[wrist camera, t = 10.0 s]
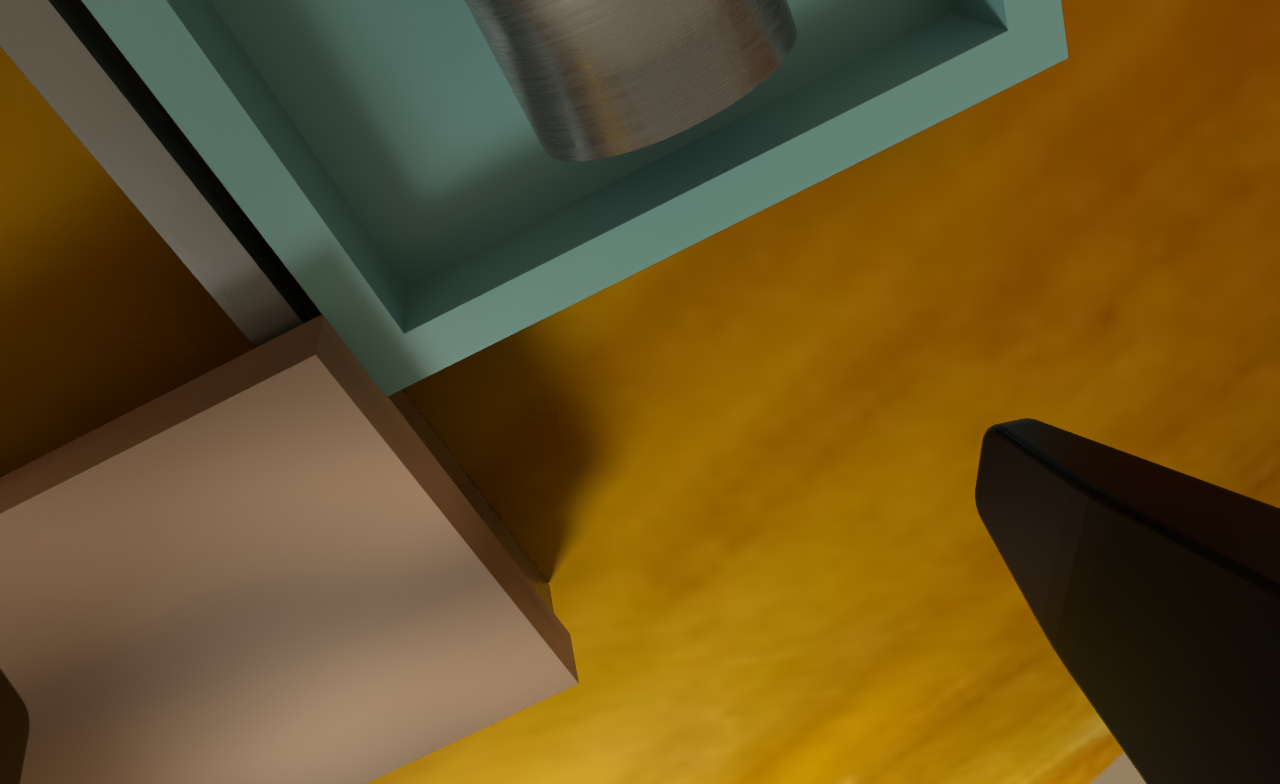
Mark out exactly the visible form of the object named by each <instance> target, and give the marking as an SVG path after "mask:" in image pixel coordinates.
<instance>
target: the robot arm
mask: <svg viewBox="0 0 1280 784" xmlns="http://www.w3.org/2000/svg"><path fill="white" fill-rule="evenodd" d="M975 501H976V506H977V510H978V512H979V515H980V517H981V519H982V521H983V523H984V525H985V527H986V529H987V530H988V532H989V534H990V536H991V538H992V540H993V541H994V543H995V545H996V547H997V549H998V550H999V552H1000V554H1001V556H1002V558H1003V560H1004V561H1005V563H1006V565H1007V567H1008V569H1009V571H1010V572H1011V574H1012V576H1013V578H1014V580H1015V581H1016V583H1017V585H1018V587H1019V589H1020V591H1021V592H1022V594H1023V596H1024V598H1025V600H1026V602H1027V603H1028V605H1029V607H1030V609H1031V611H1032V612H1033V614H1034V616H1035V618H1036V620H1037V622H1038V623H1039V625H1040V627H1041V629H1042V630H1043V632H1044V634H1045V635H1046V637H1047V639H1048V641H1049V642H1050V644H1051V646H1052V647H1053V649H1054V650H1055V652H1056V653H1057V655H1058V656H1059V658H1060V659H1061V661H1062V662H1063V664H1064V666H1065V667H1066V669H1067V670H1068V671H1069V673H1070V674H1071V676H1072V677H1073V679H1074V680H1075V682H1076V683H1077V684H1078V686H1079V687H1080V689H1081V690H1082V692H1083V693H1084V695H1085V696H1086V697H1087V699H1088V700H1089V702H1090V703H1091V705H1092V706H1093V707H1094V709H1095V710H1096V712H1097V713H1098V715H1099V716H1100V718H1101V719H1102V720H1103V722H1104V723H1105V725H1106V726H1107V728H1108V729H1109V731H1110V732H1111V733H1112V735H1113V736H1114V738H1115V739H1116V741H1117V742H1118V743H1119V745H1120V746H1121V748H1122V749H1123V751H1124V752H1125V754H1126V755H1127V756H1128V758H1129V759H1130V761H1131V762H1132V764H1133V765H1134V766H1135V768H1136V769H1137V771H1138V772H1139V774H1140V775H1141V777H1142V778H1143V779H1144V781H1145V782H1146V783H1147V784H1280V508H1277V507H1274V506H1271V505H1269V504H1266V503H1263V502H1260V501H1258V500H1255V499H1252V498H1249V497H1247V496H1244V495H1241V494H1238V493H1236V492H1233V491H1230V490H1227V489H1225V488H1222V487H1219V486H1216V485H1214V484H1211V483H1208V482H1205V481H1203V480H1200V479H1197V478H1194V477H1192V476H1189V475H1186V474H1183V473H1181V472H1178V471H1175V470H1172V469H1170V468H1167V467H1164V466H1161V465H1159V464H1156V463H1153V462H1150V461H1148V460H1145V459H1142V458H1139V457H1137V456H1134V455H1131V454H1128V453H1126V452H1123V451H1120V450H1117V449H1115V448H1112V447H1109V446H1106V445H1104V444H1101V443H1098V442H1095V441H1093V440H1090V439H1087V438H1084V437H1082V436H1079V435H1076V434H1073V433H1071V432H1068V431H1065V430H1062V429H1060V428H1057V427H1054V426H1051V425H1049V424H1046V423H1043V422H1040V421H1038V420H1035V419H1029V418H1025V419H1019V420H1014V421H1010V422H1005V423H1000V424H995V425H993V426H991V427H990V428H988V430H987V431H986V433H985V434H984V437H983V441H982V448H981V454H980V461H979V468H978V475H977V481H976V488H975ZM29 735H30V718H29V712H28V710H27V707H26V704H25V703H24V701H23V699H22V698H21V696H20V695H19V694H18V692H17V691H16V689H15V688H14V686H13V685H12V684H11V682H10V681H9V679H8V678H7V676H6V675H5V674H4V672H3V671H2V669H1V668H0V784H21V779H22V774H23V768H24V763H25V757H26V752H27V746H28V741H29Z"/></svg>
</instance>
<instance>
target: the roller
mask: <svg viewBox="0 0 1280 784" xmlns="http://www.w3.org/2000/svg"><path fill="white" fill-rule="evenodd" d="M464 1H465V2H466V4H467V6H468V8H469V10H470V12H471V14H472V16H473V18H474V19H475V21H476V23H477V25H478V27H479V29H480V31H481V33H482V34H483V36H484V38H485V40H486V42H487V44H488V46H489V48H490V50H491V51H492V53H493V55H494V57H495V59H496V61H497V63H498V65H499V66H500V68H501V70H502V72H503V74H504V76H505V78H506V80H507V81H508V83H509V85H510V87H511V89H512V91H513V93H514V95H515V97H516V98H517V100H518V102H519V104H520V106H521V108H522V110H523V112H524V113H525V115H526V117H527V119H528V121H529V123H530V125H531V127H532V129H533V130H534V132H535V134H536V136H537V138H538V140H539V142H540V144H541V145H542V147H543V149H544V151H545V152H546V153H547V154H548V155H549V156H551V157H552V158H554V159H558V160H562V161H571V162H576V161H590V160H598V159H603V158H608V157H612V156H617V155H620V154H624V153H627V152H631V151H634V150H637V149H640V148H643V147H646V146H649V145H652V144H654V143H657V142H659V141H662V140H664V139H667V138H669V137H671V136H674V135H676V134H678V133H680V132H682V131H685V130H687V129H689V128H691V127H693V126H695V125H697V124H699V123H701V122H703V121H704V120H706V119H708V118H710V117H712V116H713V115H715V114H717V113H719V112H720V111H722V110H724V109H725V108H727V107H728V106H730V105H732V104H733V103H735V102H736V101H738V100H739V99H741V98H742V97H744V96H745V95H746V94H748V93H749V92H750V91H752V90H753V89H755V88H756V87H757V86H758V85H759V84H761V83H762V82H763V81H764V80H766V79H767V78H768V77H769V76H770V75H771V74H772V73H773V72H774V71H775V70H776V69H777V68H778V67H779V66H780V65H781V64H782V63H783V61H784V60H785V59H786V58H787V57H788V55H789V54H790V52H791V50H792V49H793V47H794V44H795V42H796V39H797V30H796V26H795V23H794V20H793V17H792V14H791V11H790V8H789V4H788V1H787V0H464Z"/></svg>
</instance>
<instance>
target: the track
mask: <svg viewBox="0 0 1280 784" xmlns="http://www.w3.org/2000/svg"><path fill="white" fill-rule="evenodd" d="M0 47H1V48H2V49H3V50H4V51H5V53H6V54H7V55H8V56H9V57H10V58H11V60H12V61H13V62H14V63H15V64H16V66H17V67H18V68H19V69H20V70H21V71H22V73H23V74H24V75H25V76H26V77H27V79H28V80H29V81H30V82H31V83H32V84H33V86H34V87H35V88H36V89H37V90H38V92H39V93H40V94H41V95H42V96H43V97H44V99H45V100H46V101H47V102H48V103H49V105H50V106H51V107H52V108H53V109H54V110H55V112H56V113H57V114H58V115H59V116H60V118H61V119H62V120H63V121H64V122H65V123H66V125H67V126H68V127H69V128H70V129H71V131H72V132H73V133H74V134H75V135H76V136H77V138H78V139H79V140H80V141H81V142H82V144H83V145H84V146H85V147H86V148H87V149H88V151H89V152H90V153H91V154H92V155H93V157H94V158H95V159H96V160H97V161H98V162H99V164H100V165H101V166H102V167H103V168H104V170H105V171H106V172H107V173H108V174H109V175H110V177H111V178H112V179H113V180H114V181H115V183H116V184H117V185H118V186H119V187H120V188H121V190H122V191H123V192H124V193H125V194H126V196H127V197H128V198H129V199H130V200H131V201H132V203H133V204H134V205H135V206H136V207H137V209H138V210H139V211H140V212H141V213H142V214H143V216H144V217H145V218H146V219H147V220H148V222H149V223H150V224H151V225H152V226H153V227H154V229H155V230H156V231H157V232H158V233H159V235H160V236H161V237H162V238H163V239H164V240H165V242H166V243H167V244H168V245H169V246H170V248H171V249H172V250H173V251H174V252H175V253H176V255H177V256H178V257H179V258H180V259H181V261H182V262H183V263H184V264H185V265H186V266H187V268H188V269H189V270H190V271H191V272H192V274H193V275H194V276H195V277H196V278H197V279H198V281H199V282H200V283H201V284H202V285H203V287H204V288H205V289H206V290H207V291H208V292H209V294H210V295H211V296H212V297H213V298H214V300H215V301H216V302H217V303H218V304H219V305H220V307H221V308H222V309H223V310H224V311H225V313H226V314H227V315H228V316H229V317H230V318H231V320H232V321H233V322H234V323H235V324H236V326H237V327H238V328H239V329H240V330H241V331H242V333H243V334H244V335H245V336H246V337H247V339H248V340H249V341H250V342H251V343H252V344H253V346H254V347H255V348H256V347H258V346H260V345H262V344H264V343H266V342H268V341H270V340H272V339H274V338H276V337H278V336H280V335H282V334H284V333H286V332H288V331H290V330H292V329H294V328H296V327H298V326H300V325H302V324H304V323H306V322H308V321H310V320H312V319H314V318H316V317H318V316H320V315H322V313H321V312H320V310H319V309H318V308H317V306H316V305H315V304H314V303H313V301H312V300H311V299H310V297H309V296H308V295H307V293H306V292H305V291H304V289H303V288H302V287H301V286H300V284H299V283H298V282H297V280H296V279H295V278H294V276H293V275H292V274H291V273H290V271H289V270H288V269H287V267H286V266H285V265H284V263H283V262H282V261H281V260H280V258H279V257H278V256H277V254H276V253H275V252H274V250H273V249H272V248H271V247H270V245H269V244H268V243H267V241H266V240H265V239H264V237H263V236H262V235H261V233H260V232H259V231H258V230H257V228H256V227H255V226H254V224H253V223H252V222H251V220H250V219H249V218H248V217H247V215H246V214H245V213H244V211H243V210H242V209H241V207H240V206H239V205H238V204H237V202H236V201H235V200H234V198H233V197H232V196H231V194H230V193H229V192H228V190H227V189H226V188H225V187H224V185H223V184H222V183H221V181H220V180H219V179H218V177H217V176H216V175H215V174H214V172H213V171H212V170H211V168H210V167H209V166H208V164H207V163H206V162H205V161H204V159H203V158H202V157H201V155H200V154H199V153H198V151H197V150H196V149H195V148H194V146H193V145H192V144H191V142H190V141H189V140H188V138H187V137H186V136H185V134H184V133H183V132H182V131H181V129H180V128H179V127H178V125H177V124H176V123H175V121H174V120H173V119H172V118H171V116H170V115H169V114H168V112H167V111H166V110H165V108H164V107H163V106H162V105H161V103H160V102H159V101H158V99H157V98H156V97H155V95H154V94H153V93H152V92H151V90H150V89H149V88H148V86H147V85H146V84H145V82H144V81H143V80H142V78H141V77H140V76H139V75H138V73H137V72H136V71H135V69H134V68H133V67H132V65H131V64H130V63H129V62H128V60H127V59H126V58H125V56H124V55H123V54H122V52H121V51H120V50H119V49H118V47H117V46H116V45H115V43H114V42H113V41H112V39H111V38H110V37H109V35H108V34H107V33H106V32H105V30H104V29H103V28H102V26H101V25H100V24H99V22H98V21H97V20H96V19H95V17H94V16H93V15H92V13H91V12H90V11H89V9H88V8H87V7H86V6H85V4H84V3H83V2H82V0H0ZM388 397H389V398H390V400H391V401H392V402H393V404H394V405H395V406H396V408H397V409H398V410H399V412H400V413H401V414H402V415H403V417H404V418H405V419H406V421H407V422H408V423H409V425H410V426H411V427H412V429H413V430H414V431H415V432H416V434H417V435H418V436H419V438H420V439H421V440H422V442H423V443H424V444H425V446H426V447H427V448H428V449H429V451H430V452H431V453H432V455H433V456H434V457H435V459H436V460H437V461H438V462H439V464H440V465H441V466H442V468H443V469H444V470H445V472H446V473H447V474H448V476H449V477H450V478H451V479H452V481H453V482H454V483H455V485H456V486H457V487H458V489H459V490H460V491H461V493H462V494H463V495H464V496H465V498H466V499H467V500H468V502H469V503H470V504H471V506H472V507H473V508H474V510H475V511H476V512H477V513H478V515H479V516H480V517H481V519H482V520H483V521H484V523H485V524H486V525H487V526H488V528H489V529H490V530H491V532H492V533H493V534H494V536H495V537H496V538H497V540H498V541H499V542H500V543H501V545H502V546H503V547H504V549H505V550H506V551H507V553H508V554H509V555H510V557H511V558H512V559H513V560H514V562H515V563H516V564H517V566H518V567H519V568H520V570H521V571H522V572H523V574H524V575H525V576H526V577H527V579H528V580H529V581H530V583H531V584H532V585H533V587H534V588H535V589H536V590H537V592H538V593H539V594H540V596H541V597H542V598H543V600H544V601H545V602H546V604H547V605H548V606H549V607H550V609H551V610H552V611H553V605H552V599H551V593H550V587H549V584H548V583H547V581H546V580H545V579H544V577H543V576H542V575H541V573H540V572H539V571H538V569H537V568H536V567H535V565H534V564H533V563H532V561H531V560H530V559H529V557H528V556H527V555H526V553H525V552H524V551H523V549H522V548H521V547H520V545H519V544H518V543H517V541H516V540H515V539H514V537H513V536H512V535H511V533H510V532H509V531H508V529H507V528H506V527H505V525H504V524H503V523H502V521H501V520H500V519H499V517H498V516H497V515H496V513H495V512H494V511H493V509H492V508H491V507H490V505H489V504H488V502H487V501H486V500H485V498H484V497H483V496H482V494H481V493H480V492H479V490H478V489H477V488H476V486H475V485H474V484H473V482H472V481H471V480H470V478H469V477H468V476H467V474H466V473H465V472H464V470H463V469H462V468H461V466H460V465H459V464H458V462H457V461H456V460H455V458H454V457H453V456H452V454H451V453H450V452H449V450H448V449H447V448H446V446H445V445H444V444H443V442H442V441H441V440H440V438H439V437H438V436H437V434H436V433H435V432H434V430H433V429H432V428H431V426H430V425H429V424H428V422H427V421H426V420H425V418H424V417H423V416H422V414H421V413H420V412H419V410H418V409H417V408H416V406H415V405H414V404H413V402H412V401H411V400H410V398H409V397H408V396H407V394H406V393H405V391H404V390H403V389H402V390H400V391H398V392H396V393H394V394H392V395H390V396H388ZM553 613H554V611H553Z"/></svg>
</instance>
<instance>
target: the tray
mask: <svg viewBox="0 0 1280 784" xmlns="http://www.w3.org/2000/svg"><path fill="white" fill-rule="evenodd" d="M787 1H788V4H789V8H790V11H791V14H792V17H793V20H794V23H795V26H796V30H797V39H796V42H795V44H794V47H793V49H792V50H791V52H790V54H789V55H788V57H787V58H786V59H785V60H784V61H783V63H782V64H781V65H780V66H779V67H778V68H777V69H776V70H775V71H774V72H773V73H772V74H771V75H770V76H769V77H768V78H767V79H766V80H764V81H763V82H762V83H761V84H759V85H758V86H757V87H756V88H755V89H753V90H752V91H750V92H749V93H748V94H746V95H745V96H744V97H742V98H741V99H739V100H738V101H736V102H735V103H733V104H732V105H730V106H728V107H727V108H725V109H724V110H722V111H720V112H719V113H717V114H715V115H713V116H712V117H710V118H708V119H706V120H704V121H703V122H701V123H699V124H697V125H695V126H693V127H691V128H689V129H687V130H685V131H682V132H680V133H678V134H676V135H674V136H671V137H669V138H667V139H664V140H662V141H659V142H657V143H654V144H652V145H649V146H646V147H643V148H640V149H637V150H634V151H631V152H627V153H624V154H620V155H617V156H612V157H608V158H603V159H598V160H590V161H576V162H571V161H562V160H558V159H554V158H552V157H551V156H549V155H548V154H547V153H546V152H545V151H544V149H543V147H542V145H541V144H540V142H539V140H538V138H537V136H536V134H535V132H534V130H533V129H532V127H531V125H530V123H529V121H528V119H527V117H526V115H525V113H524V112H523V110H522V108H521V106H520V104H519V102H518V100H517V98H516V97H515V95H514V93H513V91H512V89H511V87H510V85H509V83H508V81H507V80H506V78H505V76H504V74H503V72H502V70H501V68H500V66H499V65H498V63H497V61H496V59H495V57H494V55H493V53H492V51H491V50H490V48H489V46H488V44H487V42H486V40H485V38H484V36H483V34H482V33H481V31H480V29H479V27H478V25H477V23H476V21H475V19H474V18H473V16H472V14H471V12H470V10H469V8H468V6H467V4H466V2H465V1H464V0H82V2H83V3H84V4H85V6H86V7H87V8H88V9H89V11H90V12H91V13H92V15H93V16H94V17H95V19H96V20H97V21H98V22H99V24H100V25H101V26H102V28H103V29H104V30H105V32H106V33H107V34H108V35H109V37H110V38H111V39H112V41H113V42H114V43H115V45H116V46H117V47H118V49H119V50H120V51H121V52H122V54H123V55H124V56H125V58H126V59H127V60H128V62H129V63H130V64H131V65H132V67H133V68H134V69H135V71H136V72H137V73H138V75H139V76H140V77H141V78H142V80H143V81H144V82H145V84H146V85H147V86H148V88H149V89H150V90H151V92H152V93H153V94H154V95H155V97H156V98H157V99H158V101H159V102H160V103H161V105H162V106H163V107H164V108H165V110H166V111H167V112H168V114H169V115H170V116H171V118H172V119H173V120H174V121H175V123H176V124H177V125H178V127H179V128H180V129H181V131H182V132H183V133H184V134H185V136H186V137H187V138H188V140H189V141H190V142H191V144H192V145H193V146H194V148H195V149H196V150H197V151H198V153H199V154H200V155H201V157H202V158H203V159H204V161H205V162H206V163H207V164H208V166H209V167H210V168H211V170H212V171H213V172H214V174H215V175H216V176H217V177H218V179H219V180H220V181H221V183H222V184H223V185H224V187H225V188H226V189H227V190H228V192H229V193H230V194H231V196H232V197H233V198H234V200H235V201H236V202H237V204H238V205H239V206H240V207H241V209H242V210H243V211H244V213H245V214H246V215H247V217H248V218H249V219H250V220H251V222H252V223H253V224H254V226H255V227H256V228H257V230H258V231H259V232H260V233H261V235H262V236H263V237H264V239H265V240H266V241H267V243H268V244H269V245H270V247H271V248H272V249H273V250H274V252H275V253H276V254H277V256H278V257H279V258H280V260H281V261H282V262H283V263H284V265H285V266H286V267H287V269H288V270H289V271H290V273H291V274H292V275H293V276H294V278H295V279H296V280H297V282H298V283H299V284H300V286H301V287H302V288H303V289H304V291H305V292H306V293H307V295H308V296H309V297H310V299H311V300H312V301H313V303H314V304H315V305H316V306H317V308H318V309H319V310H320V312H321V313H322V314H323V316H324V317H325V318H326V319H327V321H328V322H329V323H330V325H331V326H332V327H333V329H334V330H335V331H336V332H337V334H338V335H339V336H340V338H341V339H342V340H343V342H344V343H345V344H346V346H347V347H348V348H349V349H350V351H351V352H352V353H353V355H354V356H355V357H356V359H357V360H358V361H359V362H360V364H361V365H362V366H363V368H364V369H365V370H366V372H367V373H368V374H369V375H370V377H371V378H372V379H373V381H374V382H375V383H376V385H377V386H378V387H379V388H380V390H381V391H382V392H383V394H384V395H385V396H386V397H388V396H390V395H392V394H394V393H396V392H398V391H400V390H402V389H404V388H406V387H408V386H410V385H412V384H414V383H416V382H418V381H420V380H422V379H424V378H426V377H428V376H430V375H432V374H434V373H436V372H438V371H440V370H442V369H444V368H446V367H448V366H450V365H452V364H454V363H456V362H458V361H460V360H462V359H464V358H466V357H468V356H470V355H472V354H474V353H476V352H478V351H480V350H482V349H484V348H486V347H488V346H490V345H492V344H494V343H496V342H498V341H500V340H502V339H504V338H506V337H508V336H510V335H512V334H514V333H516V332H518V331H520V330H522V329H524V328H526V327H528V326H530V325H532V324H534V323H536V322H538V321H540V320H542V319H544V318H546V317H548V316H550V315H552V314H554V313H556V312H558V311H561V310H563V309H565V308H567V307H569V306H571V305H573V304H575V303H577V302H579V301H581V300H583V299H585V298H587V297H589V296H591V295H593V294H595V293H597V292H599V291H601V290H603V289H605V288H607V287H609V286H611V285H613V284H615V283H617V282H619V281H621V280H623V279H625V278H627V277H629V276H631V275H633V274H635V273H637V272H639V271H641V270H643V269H645V268H647V267H649V266H651V265H653V264H655V263H657V262H659V261H661V260H663V259H665V258H667V257H669V256H671V255H673V254H675V253H677V252H679V251H681V250H683V249H685V248H687V247H689V246H691V245H693V244H695V243H697V242H699V241H701V240H703V239H705V238H707V237H709V236H711V235H713V234H715V233H717V232H719V231H721V230H723V229H725V228H727V227H729V226H731V225H733V224H735V223H737V222H739V221H741V220H743V219H745V218H747V217H749V216H751V215H753V214H755V213H757V212H759V211H761V210H763V209H765V208H767V207H769V206H771V205H773V204H775V203H778V202H780V201H782V200H784V199H786V198H788V197H790V196H792V195H794V194H796V193H798V192H800V191H802V190H804V189H806V188H808V187H810V186H812V185H814V184H816V183H818V182H820V181H822V180H824V179H826V178H828V177H830V176H832V175H834V174H836V173H838V172H840V171H842V170H844V169H846V168H848V167H850V166H852V165H854V164H856V163H858V162H860V161H862V160H864V159H866V158H868V157H870V156H872V155H874V154H876V153H878V152H880V151H882V150H884V149H886V148H888V147H890V146H892V145H894V144H896V143H898V142H900V141H902V140H904V139H906V138H908V137H910V136H912V135H914V134H916V133H918V132H920V131H922V130H924V129H926V128H928V127H930V126H932V125H934V124H936V123H938V122H940V121H942V120H944V119H946V118H948V117H950V116H952V115H954V114H956V113H958V112H960V111H962V110H964V109H966V108H968V107H970V106H972V105H974V104H976V103H978V102H980V101H982V100H984V99H986V98H988V97H990V96H992V95H995V94H997V93H999V92H1001V91H1003V90H1005V89H1007V88H1009V87H1011V86H1013V85H1015V84H1017V83H1019V82H1021V81H1023V80H1025V79H1027V78H1029V77H1031V76H1033V75H1035V74H1037V73H1039V72H1041V71H1043V70H1045V69H1047V68H1049V67H1051V66H1053V65H1055V64H1057V63H1059V62H1061V61H1063V60H1065V59H1067V58H1068V52H1067V45H1066V37H1065V29H1064V21H1063V13H1062V6H1061V0H787Z"/></svg>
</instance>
